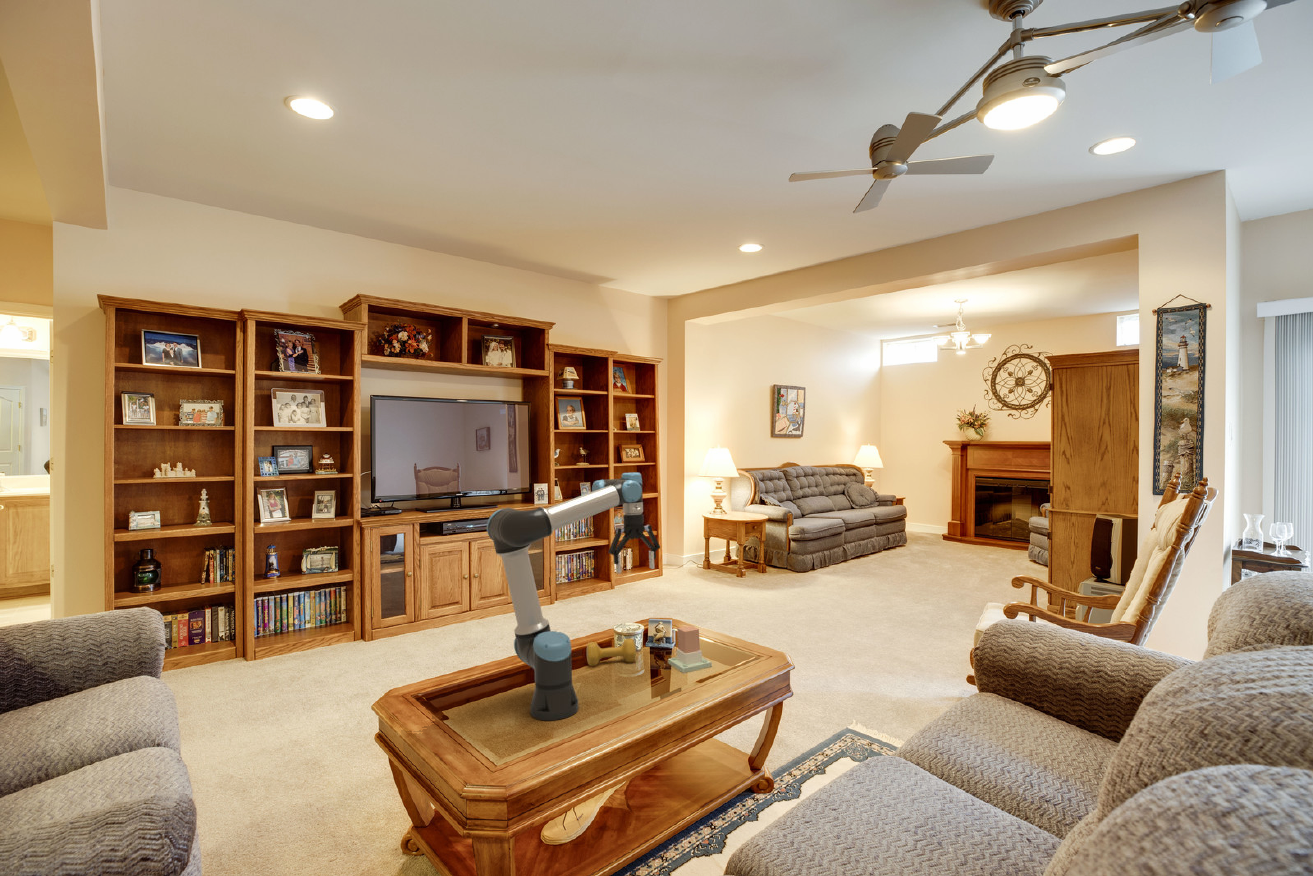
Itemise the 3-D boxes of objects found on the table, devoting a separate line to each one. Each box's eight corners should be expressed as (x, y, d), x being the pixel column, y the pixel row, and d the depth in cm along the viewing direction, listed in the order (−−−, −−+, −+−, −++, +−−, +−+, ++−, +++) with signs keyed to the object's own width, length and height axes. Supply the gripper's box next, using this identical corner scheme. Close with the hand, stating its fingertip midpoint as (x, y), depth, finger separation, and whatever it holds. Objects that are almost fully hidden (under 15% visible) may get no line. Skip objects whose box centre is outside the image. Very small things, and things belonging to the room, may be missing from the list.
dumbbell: (634, 656, 240) (633, 635, 240) (637, 664, 231) (636, 642, 231) (586, 661, 237) (585, 640, 237) (587, 669, 228) (586, 647, 228)
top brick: (685, 653, 224) (684, 632, 224) (678, 649, 229) (677, 628, 229) (699, 650, 226) (698, 629, 227) (691, 646, 232) (691, 625, 232)
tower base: (683, 673, 220) (682, 657, 220) (668, 663, 230) (667, 648, 231) (711, 666, 225) (710, 651, 225) (695, 657, 236) (694, 642, 236)
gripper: (605, 517, 217) (608, 576, 217) (667, 511, 229) (669, 568, 228) (598, 515, 224) (600, 573, 224) (658, 510, 235) (660, 565, 235)
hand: (635, 570), depth 226 cm, fingers open, 13 cm apart
